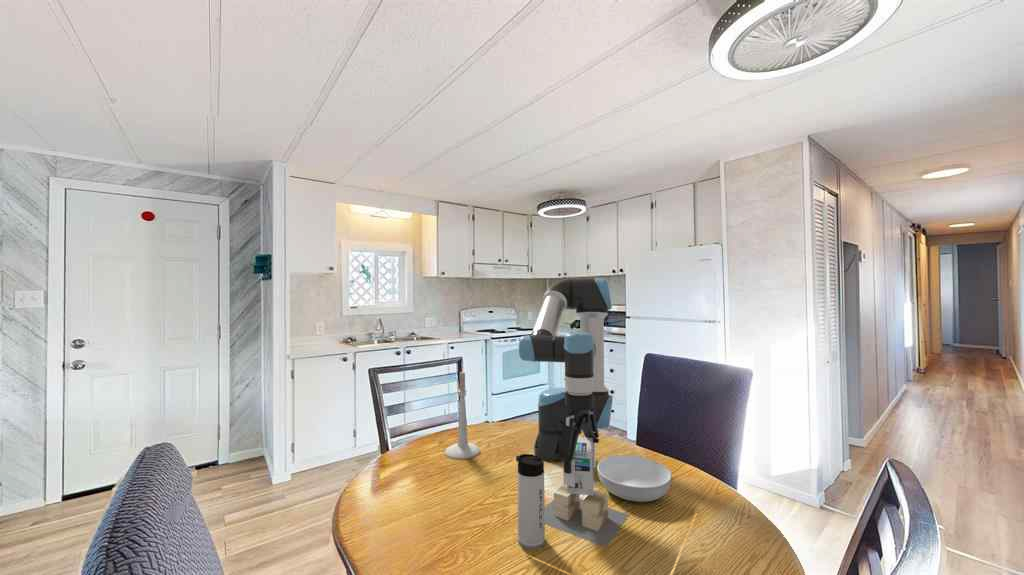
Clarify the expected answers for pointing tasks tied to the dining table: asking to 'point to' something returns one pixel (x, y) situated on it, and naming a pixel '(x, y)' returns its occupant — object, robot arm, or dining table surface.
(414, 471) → the dining table surface
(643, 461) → the serving bowl
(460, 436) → the candlestick
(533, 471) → the travel mug
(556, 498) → the beige wooden block
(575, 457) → the light bulb box
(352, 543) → the dining table surface
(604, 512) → the block
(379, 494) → the dining table surface
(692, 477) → the dining table surface
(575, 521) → the mat
